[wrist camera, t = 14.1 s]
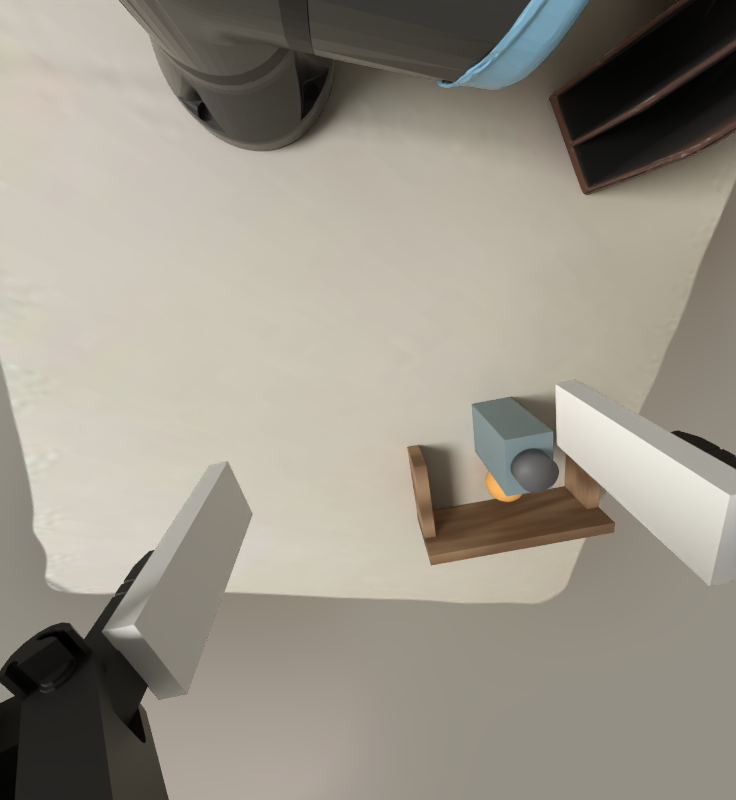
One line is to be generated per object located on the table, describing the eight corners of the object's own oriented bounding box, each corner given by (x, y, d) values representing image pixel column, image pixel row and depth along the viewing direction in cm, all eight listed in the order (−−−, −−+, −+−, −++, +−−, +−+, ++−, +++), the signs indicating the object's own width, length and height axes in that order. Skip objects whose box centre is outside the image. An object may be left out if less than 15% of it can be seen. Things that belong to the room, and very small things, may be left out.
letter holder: (770, 73, 34) (1036, -49, 21) (581, 197, 37) (710, 159, 24) (751, -50, 31) (1053, -284, 18) (546, 97, 34) (673, -10, 21)
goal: (407, 447, 46) (418, 481, 39) (578, 415, 46) (623, 444, 39) (418, 521, 51) (430, 565, 43) (574, 493, 51) (613, 532, 43)
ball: (475, 473, 49) (486, 461, 45) (509, 466, 50) (522, 454, 46) (488, 508, 47) (501, 500, 43) (523, 501, 48) (539, 492, 43)
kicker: (471, 404, 45) (513, 450, 34) (510, 396, 45) (564, 440, 34) (475, 451, 47) (515, 508, 36) (511, 444, 47) (562, 499, 36)
